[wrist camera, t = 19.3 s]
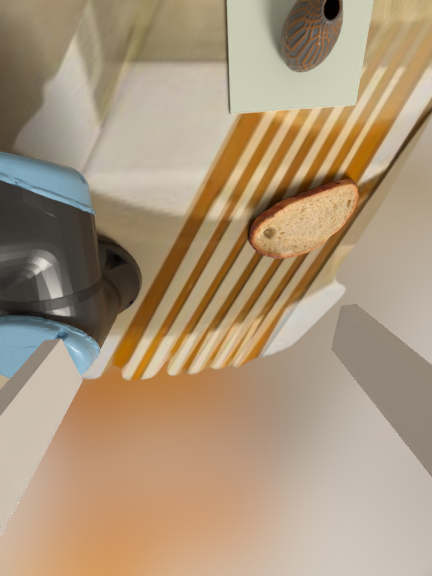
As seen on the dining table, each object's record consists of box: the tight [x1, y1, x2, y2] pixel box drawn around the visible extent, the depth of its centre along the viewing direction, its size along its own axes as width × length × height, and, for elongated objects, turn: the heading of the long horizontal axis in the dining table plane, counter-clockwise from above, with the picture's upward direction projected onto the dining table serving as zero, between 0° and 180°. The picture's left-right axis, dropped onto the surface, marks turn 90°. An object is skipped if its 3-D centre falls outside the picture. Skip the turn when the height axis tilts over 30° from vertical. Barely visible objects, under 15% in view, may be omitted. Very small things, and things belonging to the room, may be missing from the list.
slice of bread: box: [248, 179, 359, 258], centre depth 42 cm, size 18×18×4 cm
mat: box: [226, 0, 374, 114], centre depth 32 cm, size 20×14×1 cm
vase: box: [280, 0, 343, 72], centre depth 28 cm, size 7×7×9 cm
